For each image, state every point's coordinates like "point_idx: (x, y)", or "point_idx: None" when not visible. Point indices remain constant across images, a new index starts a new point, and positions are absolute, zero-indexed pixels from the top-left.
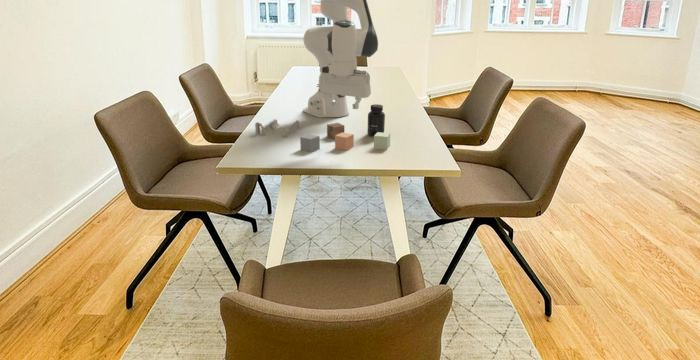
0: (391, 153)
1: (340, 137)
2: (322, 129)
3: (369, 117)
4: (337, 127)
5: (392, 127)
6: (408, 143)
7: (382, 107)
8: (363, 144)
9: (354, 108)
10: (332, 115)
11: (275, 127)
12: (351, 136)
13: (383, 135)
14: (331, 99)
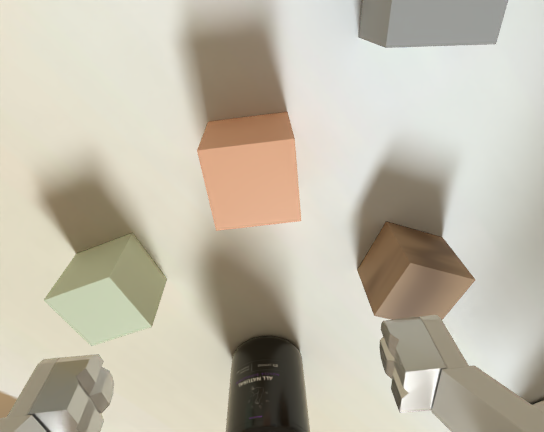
0: (12, 226)
1: (247, 141)
2: (512, 293)
3: (281, 417)
4: (394, 279)
5: None
6: (89, 350)
7: None
8: (214, 246)
9: (65, 359)
10: (542, 410)
11: None
12: (211, 204)
13: (79, 305)
14: (468, 396)
